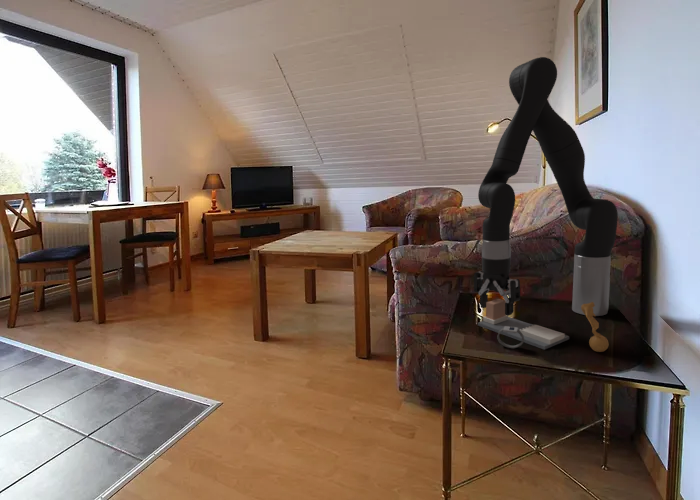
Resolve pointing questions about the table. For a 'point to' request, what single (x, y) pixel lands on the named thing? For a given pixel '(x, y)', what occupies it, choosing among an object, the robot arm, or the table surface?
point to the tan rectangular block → (495, 311)
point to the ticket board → (528, 333)
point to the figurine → (597, 340)
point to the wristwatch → (510, 330)
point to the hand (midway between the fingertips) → (496, 311)
